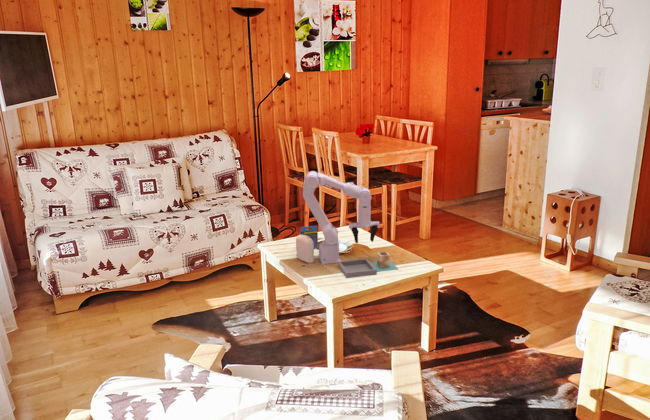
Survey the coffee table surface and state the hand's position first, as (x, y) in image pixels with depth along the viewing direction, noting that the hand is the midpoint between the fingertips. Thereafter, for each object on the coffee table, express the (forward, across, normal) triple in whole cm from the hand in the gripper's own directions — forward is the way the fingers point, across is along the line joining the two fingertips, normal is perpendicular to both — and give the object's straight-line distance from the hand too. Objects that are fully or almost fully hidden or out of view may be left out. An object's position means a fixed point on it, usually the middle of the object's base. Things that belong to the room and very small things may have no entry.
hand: (364, 241), depth 243 cm
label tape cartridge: (+10, -22, +23) cm, 33 cm away
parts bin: (+9, -7, -11) cm, 16 cm away
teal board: (+9, +6, -10) cm, 15 cm away
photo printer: (+10, -27, +8) cm, 30 cm away
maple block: (+9, +6, -10) cm, 15 cm away
